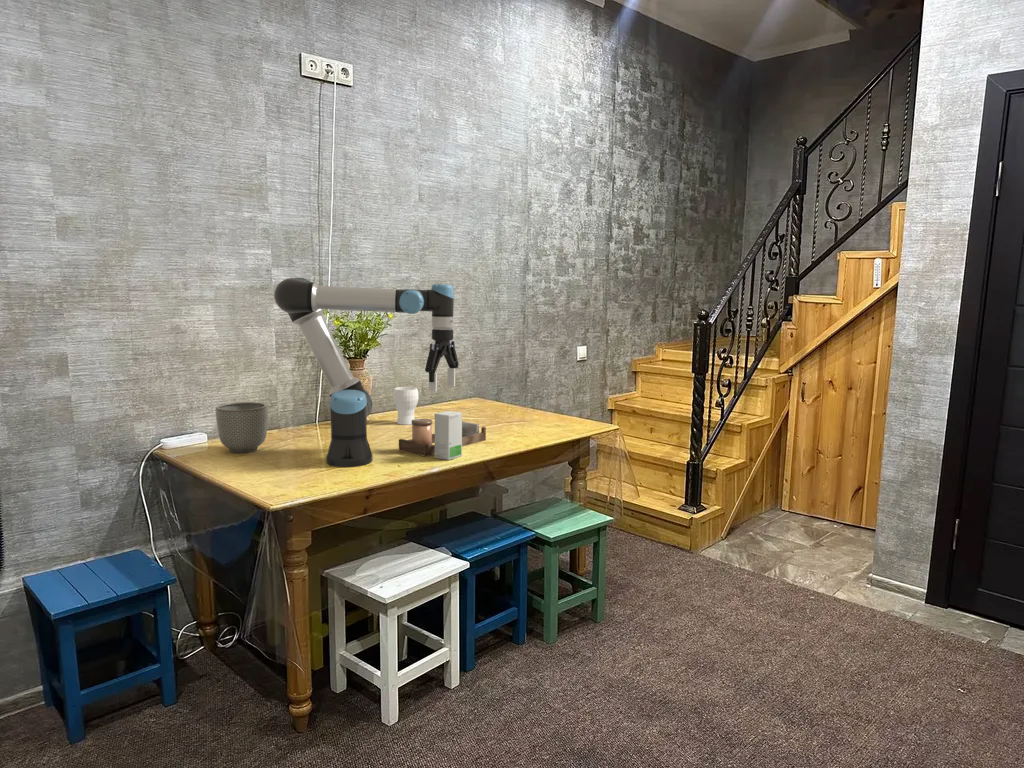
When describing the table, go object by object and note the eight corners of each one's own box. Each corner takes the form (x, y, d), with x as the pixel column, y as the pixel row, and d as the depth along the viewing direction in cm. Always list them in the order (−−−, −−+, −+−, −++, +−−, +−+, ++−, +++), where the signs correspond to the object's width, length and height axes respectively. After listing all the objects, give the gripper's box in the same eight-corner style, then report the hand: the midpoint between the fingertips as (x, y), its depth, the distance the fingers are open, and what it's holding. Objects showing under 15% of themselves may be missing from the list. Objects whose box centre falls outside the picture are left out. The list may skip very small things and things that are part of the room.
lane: (425, 456, 246) (425, 442, 246) (398, 450, 254) (398, 436, 254) (485, 439, 272) (485, 427, 272) (459, 434, 280) (459, 422, 280)
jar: (422, 454, 249) (422, 423, 248) (407, 451, 254) (407, 420, 252) (436, 450, 255) (436, 420, 253) (421, 447, 259) (421, 417, 258)
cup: (423, 422, 303) (423, 388, 301) (407, 426, 294) (407, 391, 292) (404, 419, 309) (404, 385, 307) (388, 423, 300) (387, 388, 298)
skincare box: (448, 460, 241) (448, 415, 239) (433, 457, 244) (433, 413, 242) (462, 455, 248) (463, 412, 246) (447, 453, 251) (447, 409, 249)
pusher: (476, 440, 270) (476, 424, 270) (456, 436, 277) (456, 421, 276) (484, 438, 274) (484, 423, 273) (463, 434, 280) (464, 419, 279)
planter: (273, 444, 261) (271, 401, 258) (265, 455, 244) (263, 410, 241) (223, 445, 258) (221, 402, 255) (212, 457, 241) (209, 411, 238)
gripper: (434, 331, 235) (434, 394, 238) (468, 327, 258) (467, 384, 261) (414, 330, 238) (415, 392, 241) (449, 326, 260) (449, 383, 263)
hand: (442, 388), depth 251 cm, fingers open, 13 cm apart
